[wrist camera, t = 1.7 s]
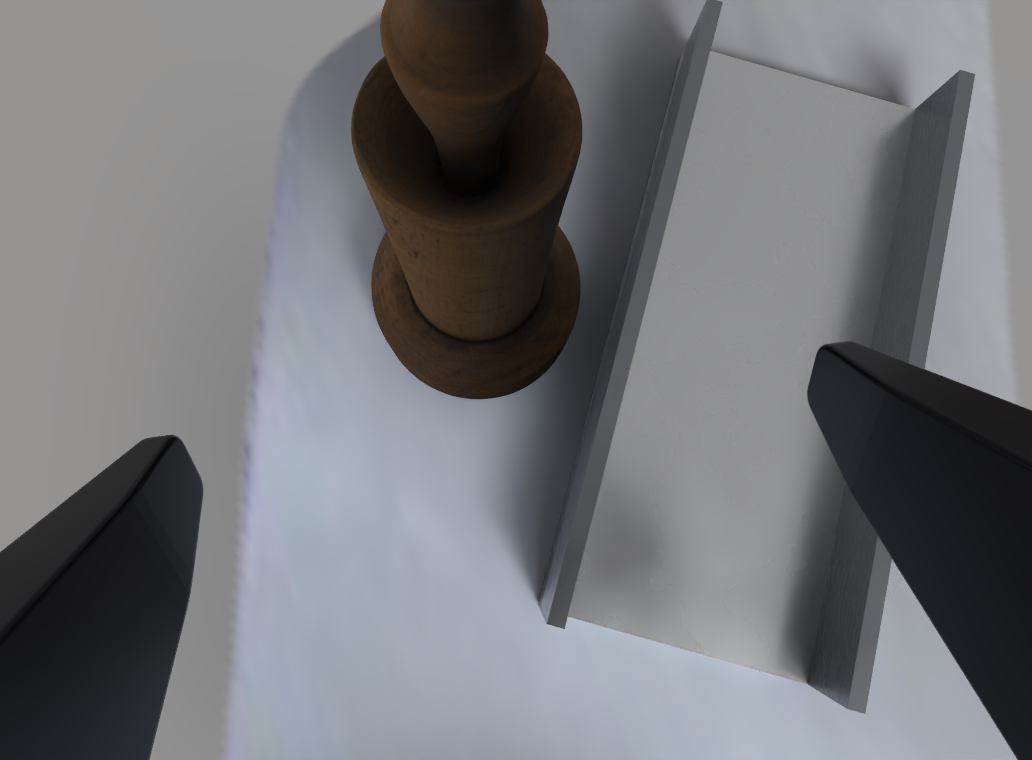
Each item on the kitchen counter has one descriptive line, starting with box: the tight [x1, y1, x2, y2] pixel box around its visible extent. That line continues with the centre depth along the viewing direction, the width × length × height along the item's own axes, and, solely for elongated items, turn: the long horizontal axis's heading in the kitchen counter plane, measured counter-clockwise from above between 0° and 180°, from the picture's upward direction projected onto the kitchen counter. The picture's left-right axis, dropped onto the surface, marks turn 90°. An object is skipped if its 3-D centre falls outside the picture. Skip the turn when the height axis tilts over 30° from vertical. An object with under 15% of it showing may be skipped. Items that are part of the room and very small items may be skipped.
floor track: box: [538, 0, 975, 714], centre depth 21 cm, size 20×9×3 cm, turn 164°
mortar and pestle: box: [351, 0, 582, 399], centre depth 13 cm, size 7×6×18 cm
